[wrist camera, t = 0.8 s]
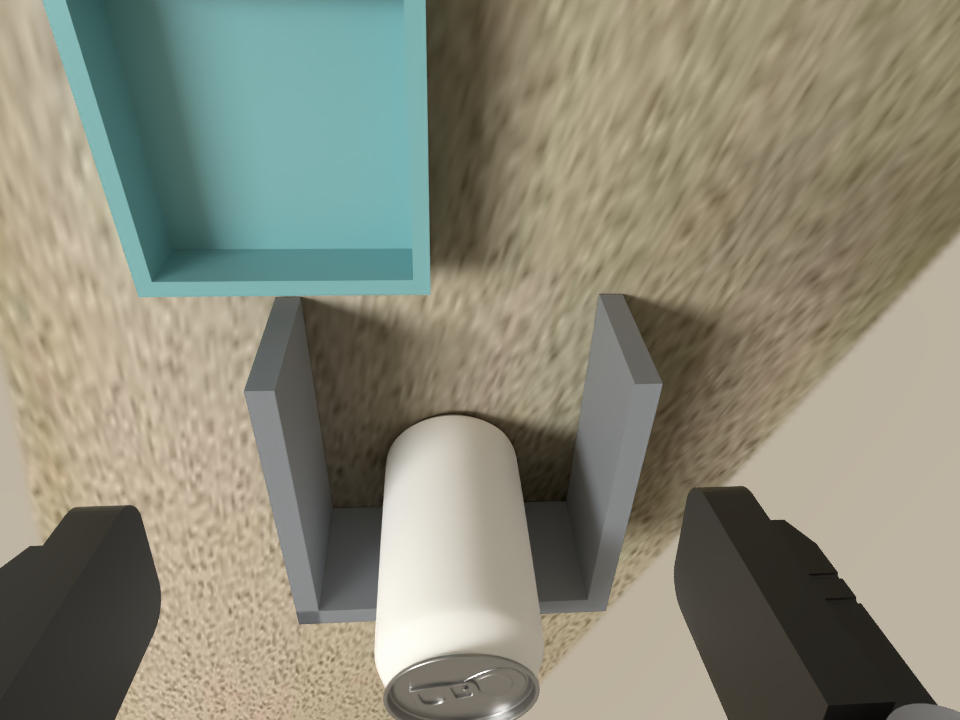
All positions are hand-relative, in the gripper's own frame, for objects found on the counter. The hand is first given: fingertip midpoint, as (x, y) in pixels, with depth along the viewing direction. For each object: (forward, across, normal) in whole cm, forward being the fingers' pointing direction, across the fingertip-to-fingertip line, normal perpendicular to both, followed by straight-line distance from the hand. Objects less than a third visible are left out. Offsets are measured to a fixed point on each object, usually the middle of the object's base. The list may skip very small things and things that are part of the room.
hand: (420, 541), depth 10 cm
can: (+20, -1, +12) cm, 24 cm away
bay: (+20, -1, +10) cm, 22 cm away
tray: (+17, +5, -4) cm, 18 cm away
